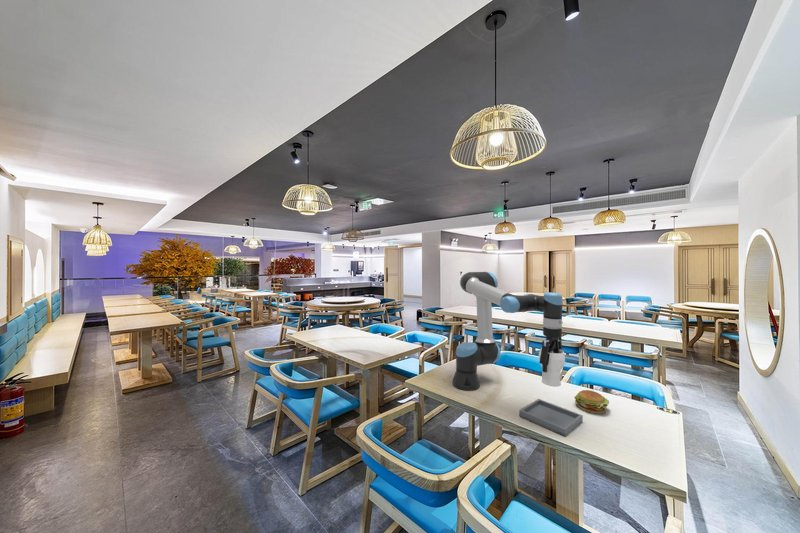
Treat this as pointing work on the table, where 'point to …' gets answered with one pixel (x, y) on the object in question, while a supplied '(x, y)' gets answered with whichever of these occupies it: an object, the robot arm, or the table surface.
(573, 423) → the tray
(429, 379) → the table surface
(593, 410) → the food
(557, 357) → the cup
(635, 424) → the table surface
